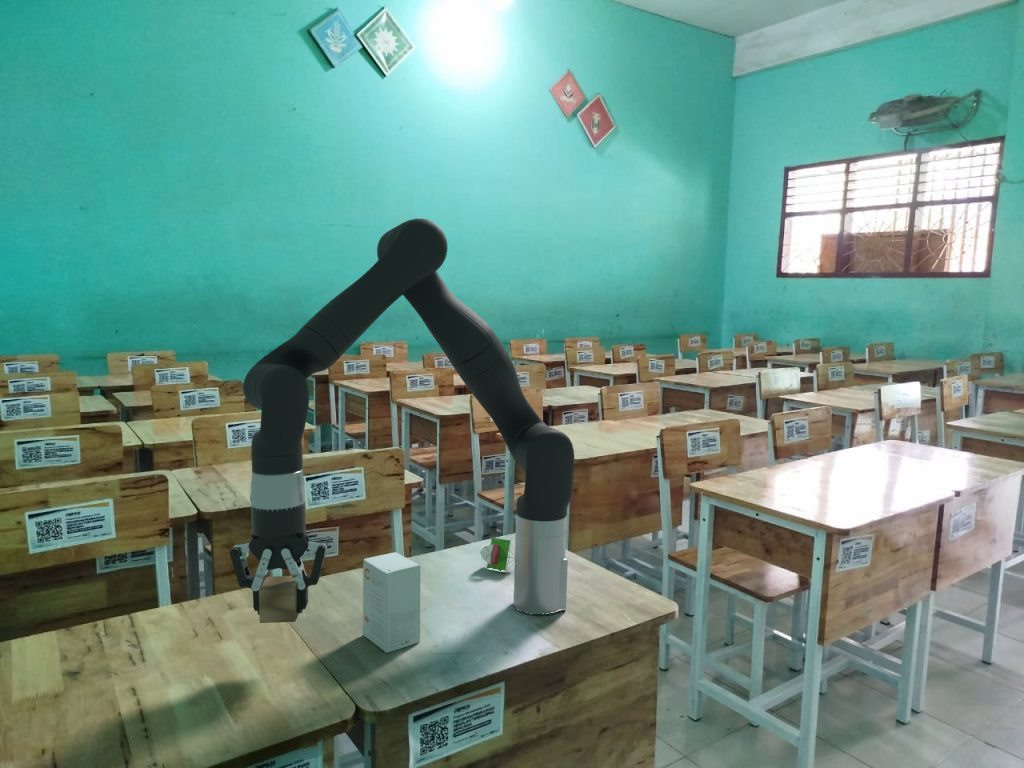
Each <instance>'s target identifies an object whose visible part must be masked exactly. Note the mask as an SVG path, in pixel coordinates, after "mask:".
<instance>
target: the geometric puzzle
mask: <svg viewBox="0 0 1024 768" xmlns="http://www.w3.org/2000/svg"><path fill="white" fill-rule="evenodd" d="M511 542H512V540H510V539H505V538H504V539H502V538H497V537H491V538H490V544H489V545H485V546H484V547H483V548H482V549H481V550H480V551H479V553H480V555H481V558H482V561H483V560H484V561H485V562H486V563H487V564H486V569H487V568H493V569H498V570H500V571H501V570H505V571H507V568H508V566H509V565H508V564H510V563H511V562H515V559H514V557H512V556H511V554H512V555H514V553H512V551H511V549H510V546H511ZM512 550H513V551H515V548H512ZM509 553H510V554H509ZM510 559H512V560H511V561H510ZM484 561H483V563H485V562H484Z"/></svg>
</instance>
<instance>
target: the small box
mask: <svg viewBox="0 0 1024 768" xmlns="http://www.w3.org/2000/svg"><path fill="white" fill-rule="evenodd" d="M362 562H363V568H362V569H363V573H362V577H363V578H362V584H363V585H362V636H364V637H365V638H366V639H368V640H370V641H371V642H372V643H373V644H374V645H376V646H377V647H378V648H380V649H381V650H382V651H384V652H385V653H391V652H395V651H397V650H400V649H405V648H406V647H409V646H412V645H415V644H418V643H420V642H421V564H419V563H416V562H415V561H413V560H412V559H409V558H407V557H406V556H403V555H401V554H400V553H398V552H395V551H393V552H389V553H385V554H380V555H376V556H371V557H367V558H363V561H362Z"/></svg>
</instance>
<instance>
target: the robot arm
mask: <svg viewBox="0 0 1024 768" xmlns="http://www.w3.org/2000/svg"><path fill="white" fill-rule="evenodd" d="M448 247H449V246H448V241H447V237H446V235H445V232H444V230H442V228H441V227H440V226H439V225H438V224H437V223H435V222H433V221H432V220H429V219H426V218H413V219H409V220H406V221H403V222H401V223H400V224H398V225H397V226H395V227H393V228H390V229H389V230H388V231H386V232H385V233H384V234H383V235H382V236H381V237H380V238H379V240H378V243H377V247H376V253H377V254H376V255H377V261H376V262H375V263H374V265H372V266H371V267H370V268H369V269H368V270H367V271H366V272H365V273H363V275H361V276H360V277H359V278H358V279H357V280H356V281H354V282H352V284H350V285H349V286H348V287H347V288H345V289H343V290H342V291H341V292H340V293H339V294H338V295H336V296H335V297H333V298H332V299H331V300H330V301H329V302H327V303H326V304H325V305H324V306H323V307H321V309H319V311H317V312H316V313H315V314H314V315H313V316H312V317H311V318H310V319H309V320H307V322H306V323H305V324H304V325H303V326H302V327H301V328H300V329H299V330H298V331H297V332H296V333H295V334H294V335H293V336H292V337H291V338H289V339H287V340H286V341H285V342H283V343H281V344H280V345H279V346H277V347H276V348H274V349H272V350H271V351H270V352H269V353H267V354H266V355H264V356H263V357H262V358H261V359H259V360H258V361H257V362H256V363H255V364H254V365H253V366H252V367H251V368H250V369H249V371H248V372H247V374H246V375H245V378H244V379H243V382H242V392H243V397H244V399H245V400H246V402H248V404H250V405H251V406H252V407H254V408H256V409H257V410H261V413H260V414H261V415H260V426H259V430H258V431H256V432H255V433H254V434H253V436H252V439H251V444H250V445H251V446H250V447H251V448H250V449H251V453H250V454H251V481H250V494H249V501H250V514H251V515H250V517H251V538H250V541H249V542H247V543H243V544H242V543H236V544H235V545H233V546H232V548H231V549H230V551H229V555H230V559H231V560H230V561H231V563H232V566H233V570H234V572H235V576H236V579H237V582H238V586H239V587H240V588H249V589H251V590H252V604H253V605H252V607H253V610H254V612H257V615H258V616H260V614H259V589H260V587H261V586H262V584H263V582H264V581H265V579H266V578H267V574H268V571H269V570H271V571H273V570H276V569H281V570H288V572H289V573H290V576H292V577H293V578H294V581H295V583H296V585H297V613H299V614H302V613H303V611H304V610H306V608H307V606H308V603H309V590H308V589H309V587H310V586H316V585H317V584H318V583H319V580H320V577H321V574H322V570H323V566H324V562H325V558H326V553H327V550H328V542H327V541H324V540H322V541H320V542H316V541H311V540H310V538H309V537H308V535H307V531H306V530H307V529H306V528H307V527H306V526H307V525H306V524H307V523H306V484H305V477H304V469H303V468H304V467H303V465H304V464H303V463H304V462H303V443H302V442H303V435H304V432H305V428H306V424H307V423H306V422H307V417H308V413H309V405H310V390H309V385H308V381H307V380H308V378H310V376H311V377H312V375H314V374H316V373H321V372H325V371H326V370H329V369H330V368H331V367H332V366H333V365H334V364H335V363H337V361H338V360H339V359H340V358H342V356H343V355H344V354H345V353H346V352H347V351H348V350H349V349H350V348H351V347H352V346H353V345H354V344H355V343H356V341H358V340H359V339H360V337H362V335H363V334H364V333H365V332H366V331H367V330H368V329H369V328H370V326H372V325H373V324H374V323H375V321H377V319H378V318H380V317H381V315H382V314H384V313H385V312H386V311H387V310H388V308H389V307H391V306H392V305H393V304H395V302H396V301H398V300H399V298H401V297H402V296H403V297H404V298H405V299H406V300H407V302H408V303H409V304H410V306H411V307H412V308H413V309H414V310H415V312H416V313H417V315H419V317H420V318H421V320H422V322H423V324H424V325H425V326H426V328H427V329H428V331H429V333H430V334H431V335H432V337H433V339H434V340H435V341H436V343H437V345H438V346H439V347H440V348H441V350H442V351H443V352H444V355H445V356H446V358H447V359H448V361H449V362H450V364H451V366H452V367H453V368H454V370H455V371H456V373H457V375H458V376H459V377H460V379H461V381H462V382H463V383H464V385H465V386H466V387H467V389H468V390H469V391H470V393H471V394H472V395H473V397H474V398H475V399H476V401H478V403H479V404H480V405H481V407H482V408H483V410H484V411H485V412H486V413H487V414H488V415H489V417H490V418H491V420H492V421H493V423H494V424H495V426H496V428H497V429H498V432H499V434H500V435H501V437H502V439H503V441H504V443H505V445H506V446H507V449H508V451H509V453H510V454H511V457H512V458H513V460H514V462H515V463H516V464H517V466H518V467H519V468H520V469H522V470H523V471H524V472H525V475H524V476H525V477H524V478H525V479H524V490H523V494H521V495H519V496H518V498H517V500H516V506H515V509H516V510H515V541H514V543H515V544H514V572H513V573H514V575H513V579H514V580H513V585H514V586H513V606H514V607H516V608H517V610H518V609H519V610H521V611H520V612H522V611H523V612H522V613H524V612H527V613H526V614H528V613H532V614H531V615H533V614H543V613H544V614H546V613H551V612H555V611H557V610H559V609H566V610H567V597H568V596H567V594H568V593H567V591H568V567H569V565H568V564H569V561H568V559H567V557H566V553H567V552H566V550H567V547H566V546H567V519H568V518H567V517H568V507H569V505H570V503H571V500H572V497H573V484H574V476H575V475H574V474H575V471H574V470H575V450H574V446H573V443H572V441H571V439H570V438H569V436H568V435H567V434H566V433H564V432H562V431H560V430H558V429H556V428H553V427H551V426H549V425H547V424H546V423H545V422H544V420H542V419H541V417H540V416H539V415H538V413H537V412H536V411H535V410H534V409H533V407H532V406H531V404H530V403H529V402H528V400H527V398H526V396H525V395H524V392H523V390H522V388H521V384H520V382H519V377H518V373H517V370H516V368H515V365H514V363H513V360H512V359H511V356H510V354H509V352H508V351H507V349H506V348H505V346H504V345H503V342H501V339H499V338H500V337H498V335H497V333H495V331H494V330H493V328H492V327H491V326H490V325H489V323H487V321H485V320H484V319H483V318H482V316H480V315H479V314H478V313H476V312H475V311H474V310H472V309H471V308H470V307H468V306H467V305H466V304H465V303H463V301H461V300H460V299H459V298H457V296H456V295H454V293H453V292H452V291H451V290H450V289H449V288H448V287H447V285H446V284H445V282H444V280H443V279H442V277H441V276H440V274H439V272H438V270H439V269H440V268H441V266H442V265H443V264H444V262H445V260H446V258H447V256H448ZM307 550H309V552H310V556H311V558H313V559H314V560H313V564H312V568H311V573H310V574H307V572H306V569H305V565H304V563H303V560H302V557H303V555H304V553H306V551H307ZM249 552H251V554H252V555H253V556H254V557H255V558H256V560H257V561H258V562H259V563H258V567H257V569H256V572H255V574H254V575H255V576H253V575H252V574H251V571H250V567H249V563H248V560H247V558H248V556H249ZM516 608H515V609H516ZM519 610H518V611H519Z"/></svg>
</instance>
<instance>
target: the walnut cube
mask: <svg viewBox="0 0 1024 768" xmlns="http://www.w3.org/2000/svg"><path fill="white" fill-rule="evenodd" d="M259 614H260V615H259V624H271V623H272V624H273V623H296V621H297V620H298V617H299V614H300V613H297V585H296V583H295V581H294V578H293V577H292V576H291V575H282V576H266V577H265V580H264V582H263V584H262V586H261V587H260V589H259Z"/></svg>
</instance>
